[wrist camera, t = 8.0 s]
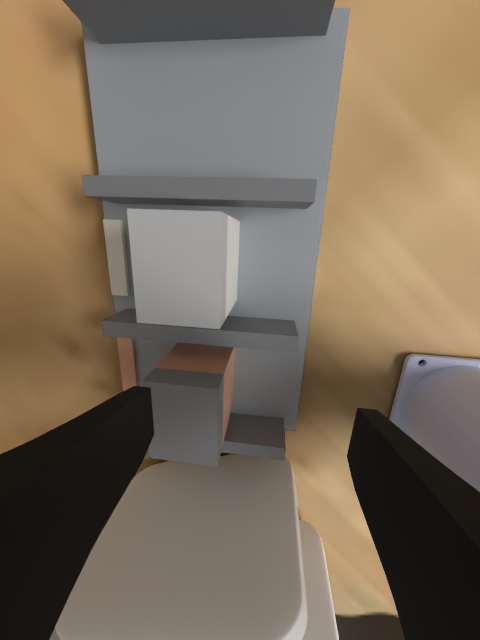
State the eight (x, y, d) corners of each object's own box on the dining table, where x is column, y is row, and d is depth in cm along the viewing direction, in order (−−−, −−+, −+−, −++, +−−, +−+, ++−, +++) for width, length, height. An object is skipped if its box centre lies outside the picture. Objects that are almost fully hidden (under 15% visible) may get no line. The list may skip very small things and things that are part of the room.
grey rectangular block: (239, 221, 16) (221, 211, 10) (236, 299, 17) (219, 329, 12) (177, 219, 16) (126, 208, 11) (180, 296, 18) (136, 322, 12)
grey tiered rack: (344, 24, 13) (373, -62, 9) (294, 422, 21) (299, 462, 17) (93, 35, 15) (31, -36, 11) (132, 403, 22) (103, 437, 19)
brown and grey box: (235, 342, 18) (218, 389, 13) (233, 402, 20) (217, 467, 14) (181, 338, 19) (141, 381, 13) (183, 396, 20) (148, 457, 15)
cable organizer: (299, 438, 22) (326, 647, 10) (320, 528, 24) (361, 768, 13) (141, 458, 24) (33, 639, 13) (177, 536, 27) (112, 740, 16)
